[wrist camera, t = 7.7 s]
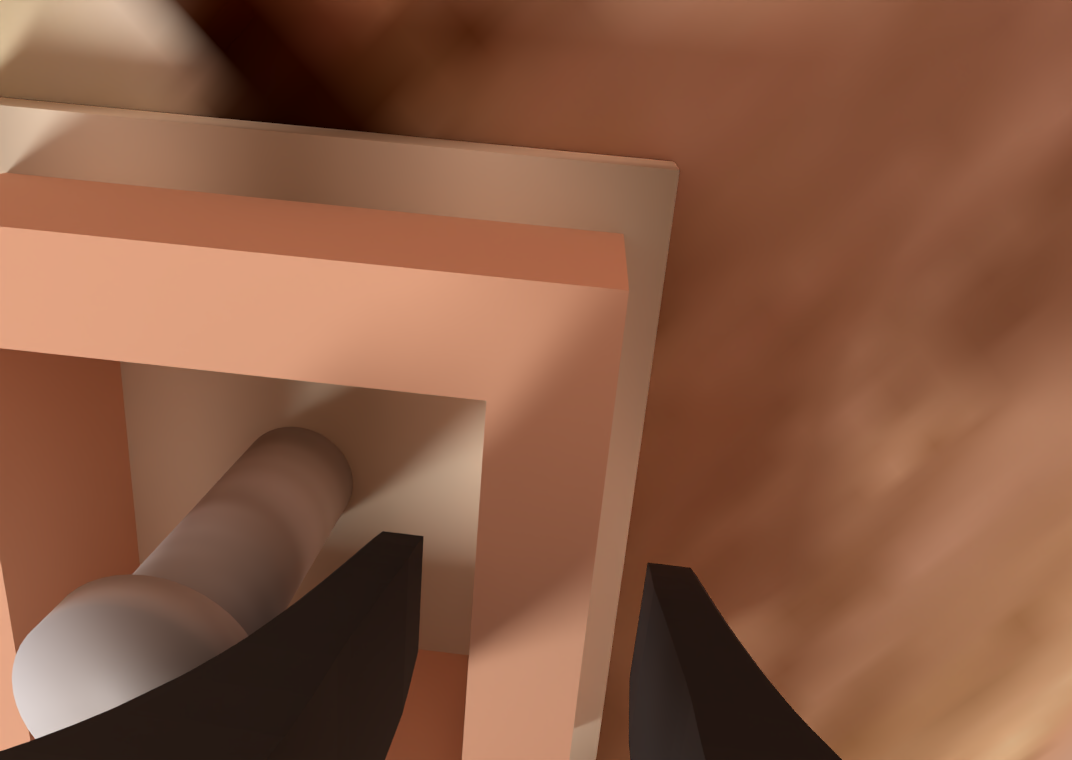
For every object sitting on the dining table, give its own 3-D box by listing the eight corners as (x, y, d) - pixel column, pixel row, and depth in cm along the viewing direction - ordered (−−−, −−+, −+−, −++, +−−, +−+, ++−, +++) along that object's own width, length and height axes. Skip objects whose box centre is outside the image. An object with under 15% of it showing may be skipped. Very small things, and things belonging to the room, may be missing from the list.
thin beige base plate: (88, 889, 21) (-141, 1254, 15) (-28, 94, 15) (-546, 122, 8) (563, 953, 21) (543, 1362, 14) (674, 161, 14) (733, 250, 7)
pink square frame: (74, 671, 17) (-49, 814, 14) (6, 172, 14) (-181, 207, 10) (563, 732, 17) (552, 894, 14) (623, 233, 13) (629, 291, 10)
